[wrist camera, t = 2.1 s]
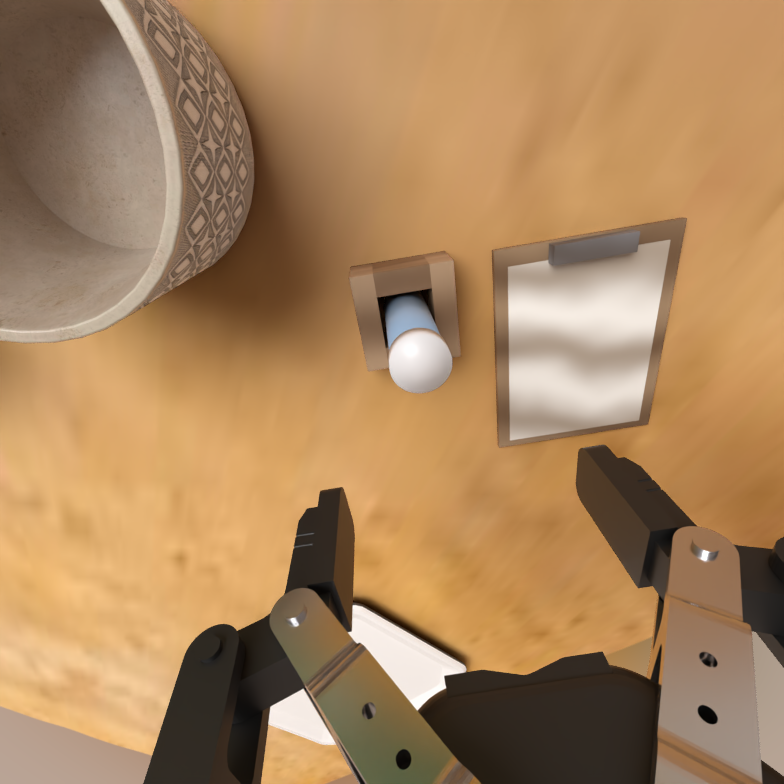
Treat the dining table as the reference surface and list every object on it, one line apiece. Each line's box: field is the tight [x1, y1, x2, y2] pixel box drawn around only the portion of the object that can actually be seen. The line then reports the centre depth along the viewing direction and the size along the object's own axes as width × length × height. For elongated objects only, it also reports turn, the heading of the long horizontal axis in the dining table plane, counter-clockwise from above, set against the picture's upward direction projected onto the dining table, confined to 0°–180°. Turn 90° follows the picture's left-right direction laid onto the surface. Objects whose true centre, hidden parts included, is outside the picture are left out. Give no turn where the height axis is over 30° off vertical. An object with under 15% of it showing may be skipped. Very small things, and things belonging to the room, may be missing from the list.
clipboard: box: [492, 218, 687, 448], centre depth 33 cm, size 18×14×2 cm
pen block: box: [349, 251, 461, 371], centre depth 30 cm, size 7×7×4 cm
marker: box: [384, 290, 452, 393], centre depth 26 cm, size 3×3×11 cm
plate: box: [268, 603, 466, 745], centre depth 55 cm, size 29×29×2 cm
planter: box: [0, 0, 254, 343], centre depth 20 cm, size 16×16×13 cm
